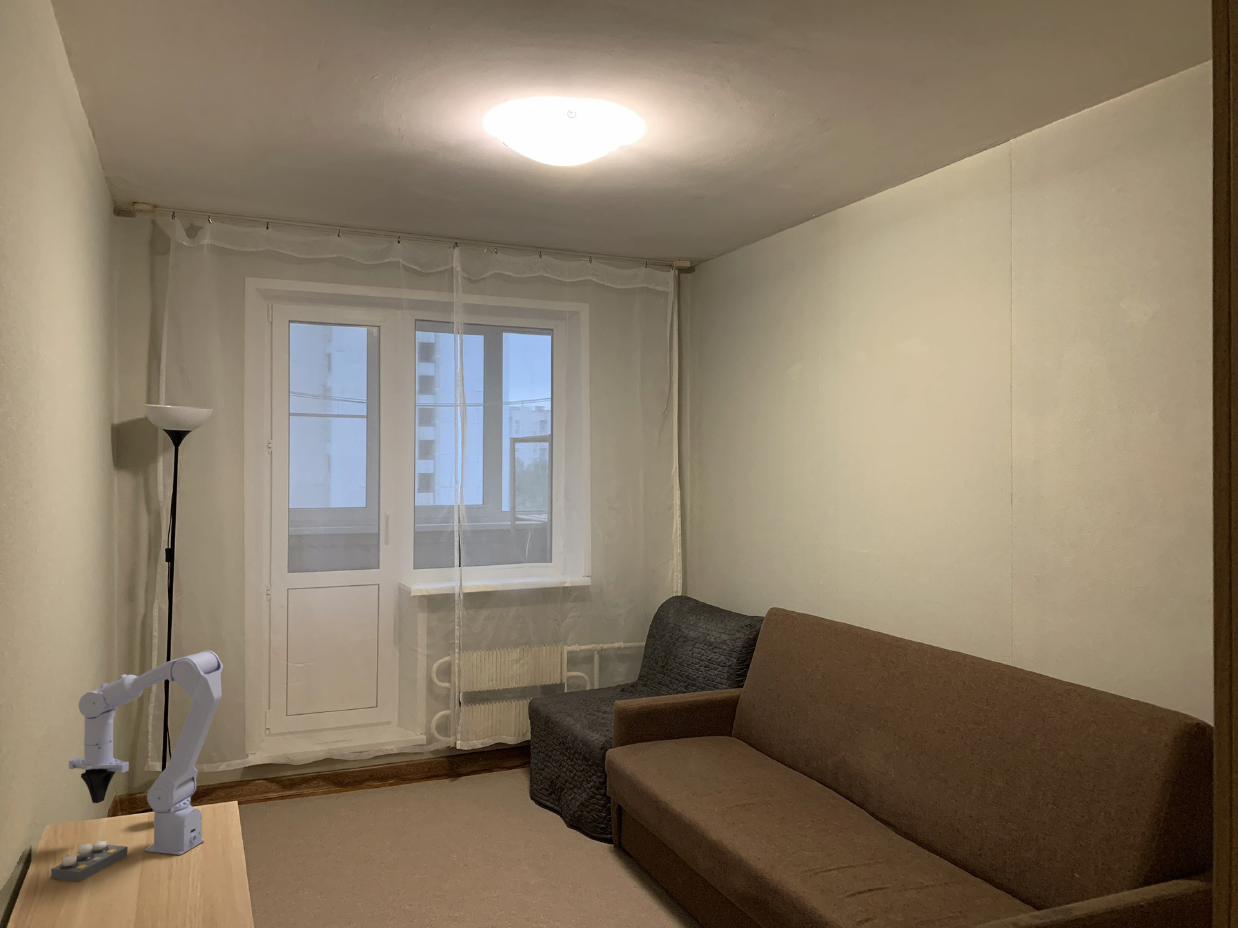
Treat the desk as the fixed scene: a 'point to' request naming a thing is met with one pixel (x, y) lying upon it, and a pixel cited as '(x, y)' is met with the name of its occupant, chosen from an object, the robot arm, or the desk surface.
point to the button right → (99, 845)
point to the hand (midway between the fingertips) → (98, 801)
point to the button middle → (84, 848)
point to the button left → (69, 860)
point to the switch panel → (89, 863)
